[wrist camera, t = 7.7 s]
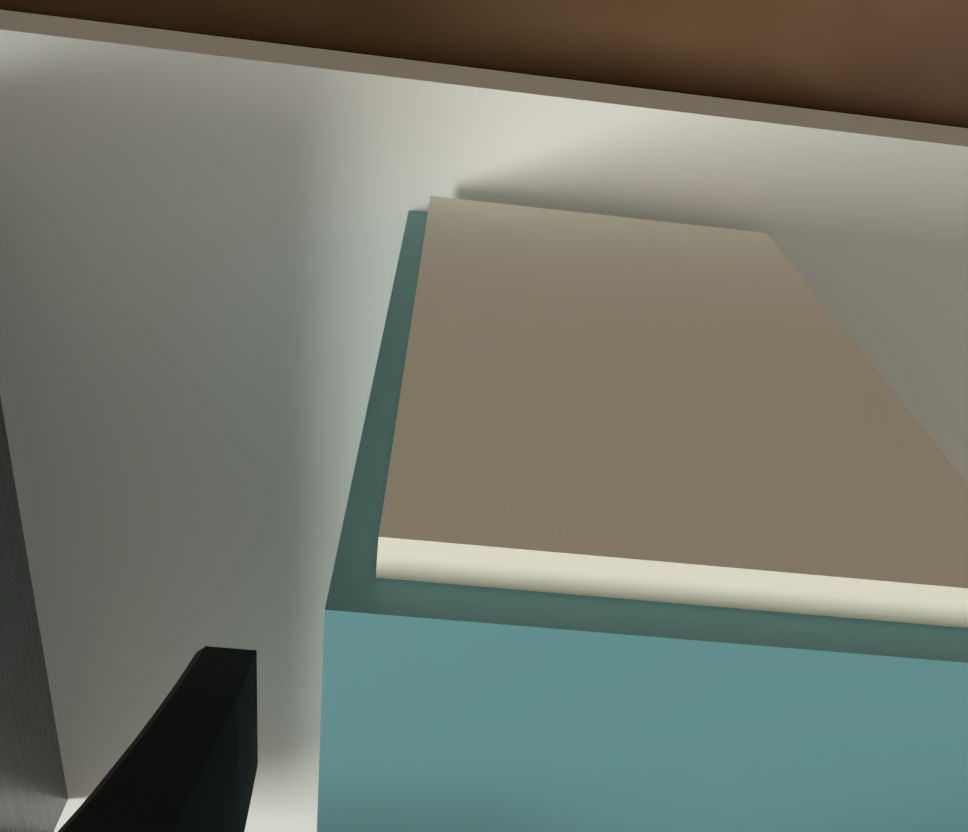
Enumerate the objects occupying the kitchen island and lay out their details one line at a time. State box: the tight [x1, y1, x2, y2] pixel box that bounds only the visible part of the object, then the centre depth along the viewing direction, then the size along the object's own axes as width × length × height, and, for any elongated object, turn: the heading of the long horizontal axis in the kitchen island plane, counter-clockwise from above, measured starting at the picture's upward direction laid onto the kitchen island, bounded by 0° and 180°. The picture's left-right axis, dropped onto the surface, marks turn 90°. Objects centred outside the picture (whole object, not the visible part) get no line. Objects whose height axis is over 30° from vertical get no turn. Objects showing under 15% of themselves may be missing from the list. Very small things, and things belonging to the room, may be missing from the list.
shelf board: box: [0, 10, 968, 832], centre depth 15 cm, size 18×14×1 cm
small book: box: [317, 196, 968, 832], centre depth 11 cm, size 4×10×7 cm, turn 174°
